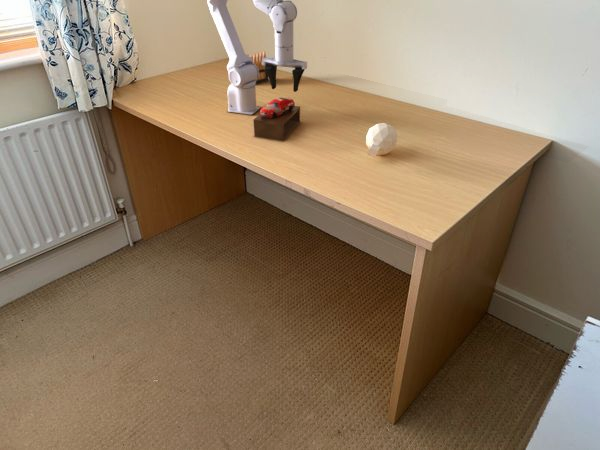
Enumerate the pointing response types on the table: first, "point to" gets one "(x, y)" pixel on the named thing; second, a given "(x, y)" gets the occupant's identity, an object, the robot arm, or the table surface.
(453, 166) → the table surface
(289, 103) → the race car
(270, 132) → the shelf
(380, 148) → the white faceted rounded lump
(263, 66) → the ammunition clip
